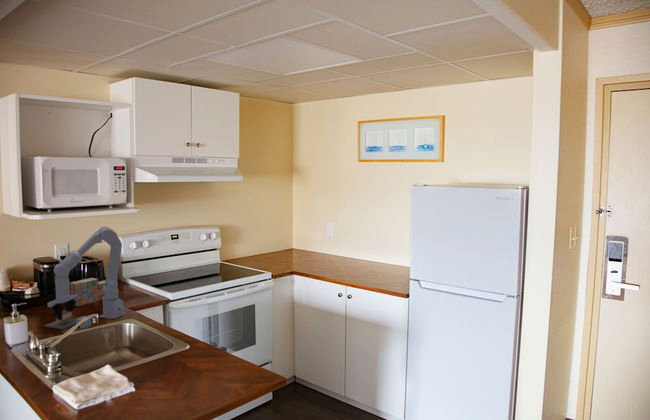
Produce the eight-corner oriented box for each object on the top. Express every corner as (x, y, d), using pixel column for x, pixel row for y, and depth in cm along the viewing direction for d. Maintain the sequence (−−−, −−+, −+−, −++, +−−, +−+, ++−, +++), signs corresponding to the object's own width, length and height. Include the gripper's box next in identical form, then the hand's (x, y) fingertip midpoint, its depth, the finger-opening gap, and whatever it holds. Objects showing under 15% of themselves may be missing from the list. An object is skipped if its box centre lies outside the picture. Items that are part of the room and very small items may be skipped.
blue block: (91, 325, 216) (90, 317, 216) (83, 328, 212) (82, 320, 212) (84, 324, 218) (83, 316, 217) (75, 327, 214) (75, 319, 213)
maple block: (72, 319, 219) (71, 311, 219) (63, 322, 215) (63, 314, 215) (65, 318, 221) (64, 310, 221) (56, 321, 217) (56, 313, 216)
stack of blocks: (109, 295, 266) (108, 274, 265) (115, 297, 262) (114, 275, 261) (71, 304, 249) (69, 282, 248) (76, 306, 245) (75, 283, 244)
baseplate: (85, 321, 221) (85, 320, 221) (62, 329, 210) (62, 328, 210) (67, 318, 226) (67, 317, 226) (44, 326, 215) (44, 325, 215)
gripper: (70, 284, 225) (72, 312, 226) (42, 292, 211) (44, 321, 213) (80, 286, 222) (82, 313, 223) (52, 294, 209) (54, 323, 210)
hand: (64, 317), depth 218 cm, fingers closed on maple block, 4 cm apart
